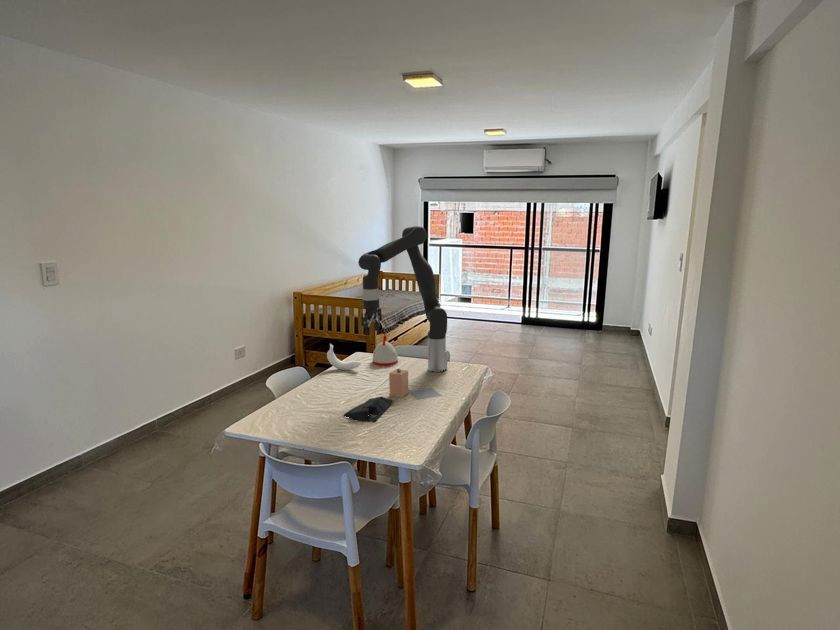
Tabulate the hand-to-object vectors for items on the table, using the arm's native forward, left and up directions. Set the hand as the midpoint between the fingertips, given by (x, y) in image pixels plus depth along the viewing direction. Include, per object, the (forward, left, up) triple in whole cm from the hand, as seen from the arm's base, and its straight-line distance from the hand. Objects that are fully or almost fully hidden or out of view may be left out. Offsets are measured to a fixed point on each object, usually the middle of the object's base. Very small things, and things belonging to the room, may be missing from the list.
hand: (372, 332), depth 231 cm
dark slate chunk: (+11, +29, -27) cm, 41 cm away
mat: (-17, +21, -26) cm, 37 cm away
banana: (+6, -30, -26) cm, 40 cm away
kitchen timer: (-18, -34, -26) cm, 47 cm away
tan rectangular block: (-6, +17, -26) cm, 32 cm away
